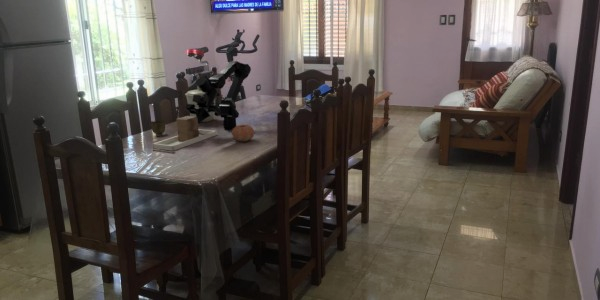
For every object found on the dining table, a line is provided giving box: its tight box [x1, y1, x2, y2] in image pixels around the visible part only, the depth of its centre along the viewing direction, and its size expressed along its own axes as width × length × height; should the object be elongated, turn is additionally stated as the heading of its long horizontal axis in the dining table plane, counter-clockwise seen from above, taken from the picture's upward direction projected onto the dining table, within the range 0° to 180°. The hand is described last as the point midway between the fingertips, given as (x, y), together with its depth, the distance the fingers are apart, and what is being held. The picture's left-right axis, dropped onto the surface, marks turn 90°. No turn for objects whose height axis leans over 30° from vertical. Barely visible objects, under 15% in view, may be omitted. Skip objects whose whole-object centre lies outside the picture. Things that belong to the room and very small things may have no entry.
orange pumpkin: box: [231, 124, 255, 143], centre depth 230 cm, size 11×11×8 cm
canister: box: [184, 85, 216, 123], centre depth 279 cm, size 18×18×21 cm
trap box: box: [151, 128, 218, 154], centre depth 227 cm, size 32×12×4 cm, turn 152°
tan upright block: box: [176, 115, 200, 142], centre depth 228 cm, size 8×6×11 cm
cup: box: [149, 119, 166, 138], centre depth 244 cm, size 8×7×8 cm
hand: (196, 123), depth 233 cm, fingers closed
